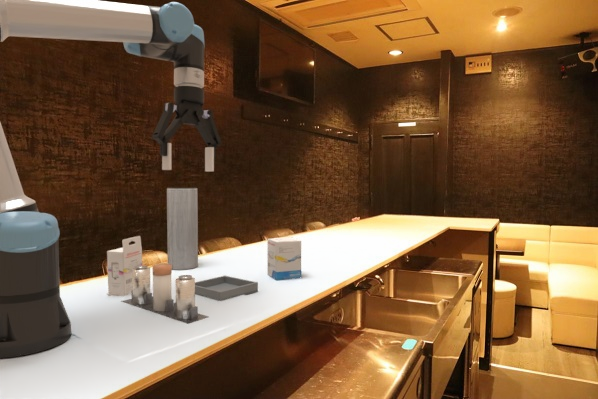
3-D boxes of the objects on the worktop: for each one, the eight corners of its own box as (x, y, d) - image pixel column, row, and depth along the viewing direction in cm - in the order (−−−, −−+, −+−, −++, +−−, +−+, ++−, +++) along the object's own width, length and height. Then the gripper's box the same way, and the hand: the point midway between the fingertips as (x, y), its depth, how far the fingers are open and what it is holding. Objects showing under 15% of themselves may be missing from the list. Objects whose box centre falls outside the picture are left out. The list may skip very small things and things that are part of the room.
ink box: (302, 278, 130) (302, 240, 130) (275, 280, 127) (275, 241, 127) (292, 272, 138) (292, 236, 138) (266, 274, 135) (266, 237, 135)
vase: (161, 269, 143) (160, 188, 142) (177, 263, 153) (176, 187, 151) (189, 270, 140) (188, 188, 139) (203, 265, 150) (202, 187, 149)
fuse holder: (187, 325, 87) (187, 281, 87) (120, 302, 104) (120, 265, 103) (209, 318, 92) (209, 277, 91) (141, 297, 108) (141, 262, 108)
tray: (220, 302, 104) (220, 292, 104) (187, 293, 112) (187, 284, 112) (257, 291, 114) (257, 282, 114) (224, 284, 122) (224, 275, 122)
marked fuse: (159, 312, 95) (159, 267, 94) (149, 308, 97) (148, 265, 97) (175, 308, 98) (175, 264, 98) (164, 304, 101) (164, 262, 100)
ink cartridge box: (126, 288, 118) (126, 234, 117) (143, 289, 117) (142, 235, 116) (106, 296, 109) (105, 239, 109) (124, 297, 108) (123, 239, 108)
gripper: (155, 75, 98) (155, 168, 99) (234, 94, 118) (234, 171, 119) (136, 80, 102) (137, 169, 103) (216, 97, 122) (215, 172, 123)
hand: (189, 170), depth 111 cm, fingers open, 13 cm apart
